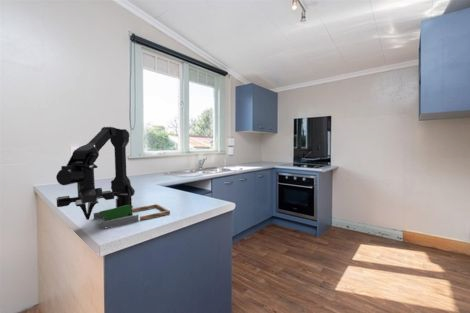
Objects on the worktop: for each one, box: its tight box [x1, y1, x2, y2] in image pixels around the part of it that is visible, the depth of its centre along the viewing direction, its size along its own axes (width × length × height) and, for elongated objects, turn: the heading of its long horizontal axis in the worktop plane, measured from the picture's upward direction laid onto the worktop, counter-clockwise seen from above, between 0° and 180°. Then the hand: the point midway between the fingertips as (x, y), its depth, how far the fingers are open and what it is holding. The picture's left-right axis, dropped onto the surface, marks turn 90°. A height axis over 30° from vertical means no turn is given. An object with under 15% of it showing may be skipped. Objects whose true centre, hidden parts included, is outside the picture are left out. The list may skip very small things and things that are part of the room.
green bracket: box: [99, 205, 134, 221], centre depth 96 cm, size 12×6×9 cm, turn 140°
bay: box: [132, 203, 171, 221], centre depth 106 cm, size 13×16×2 cm
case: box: [92, 211, 140, 229], centre depth 96 cm, size 14×16×2 cm
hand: (87, 219), depth 90 cm, fingers closed
